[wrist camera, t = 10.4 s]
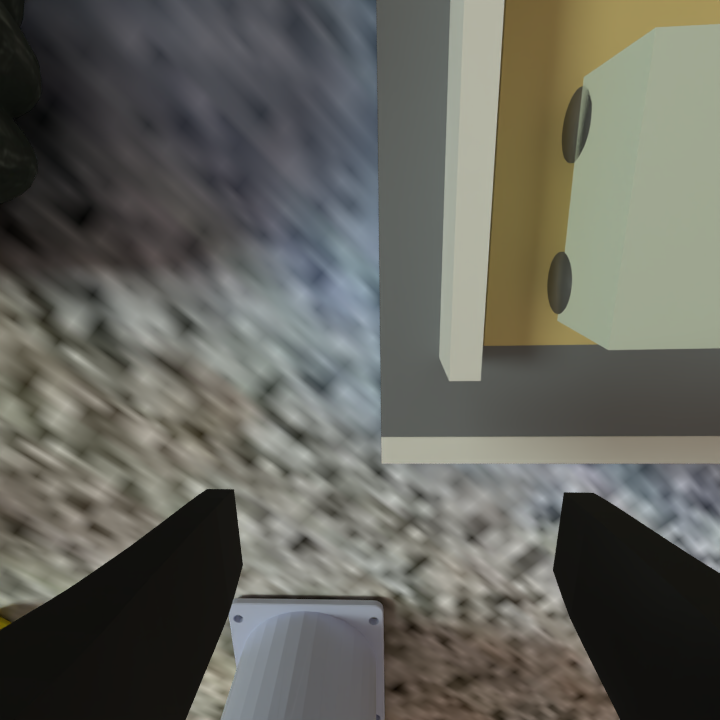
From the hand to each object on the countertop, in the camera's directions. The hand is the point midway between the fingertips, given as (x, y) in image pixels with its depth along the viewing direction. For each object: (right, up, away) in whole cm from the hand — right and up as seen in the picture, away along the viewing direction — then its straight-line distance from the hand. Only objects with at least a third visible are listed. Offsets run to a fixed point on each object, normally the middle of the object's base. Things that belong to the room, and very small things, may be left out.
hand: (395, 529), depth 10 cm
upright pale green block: (+8, +9, +5) cm, 13 cm away
